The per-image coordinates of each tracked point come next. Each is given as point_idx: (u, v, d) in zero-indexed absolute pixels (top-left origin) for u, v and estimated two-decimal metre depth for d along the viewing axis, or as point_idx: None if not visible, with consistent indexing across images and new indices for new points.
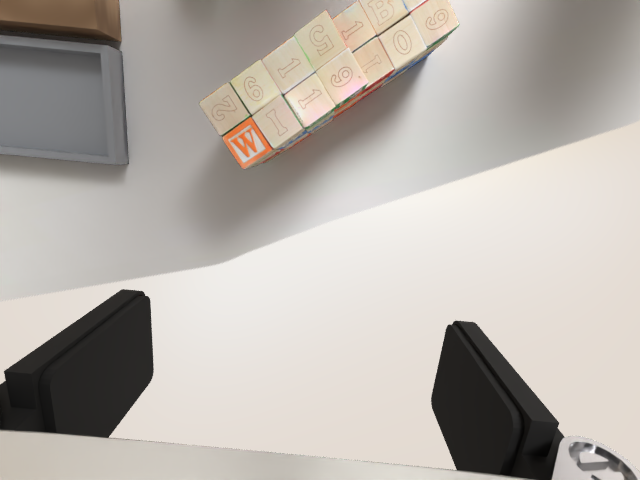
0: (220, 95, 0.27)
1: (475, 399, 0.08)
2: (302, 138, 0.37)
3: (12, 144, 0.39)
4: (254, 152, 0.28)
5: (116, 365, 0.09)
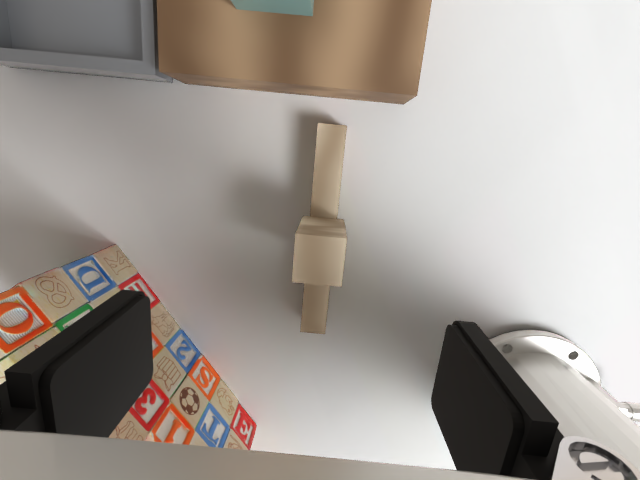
0: None
1: (475, 399, 0.08)
2: None
3: None
4: None
5: (116, 365, 0.09)
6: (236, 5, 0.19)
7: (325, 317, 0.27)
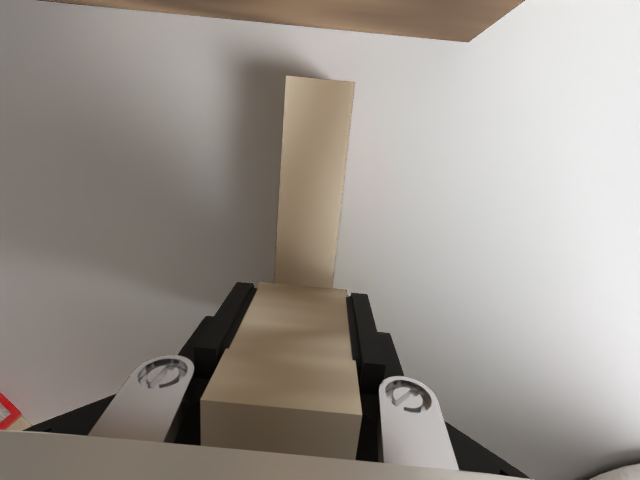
0: None
1: None
2: None
3: None
4: None
5: None
6: None
7: None
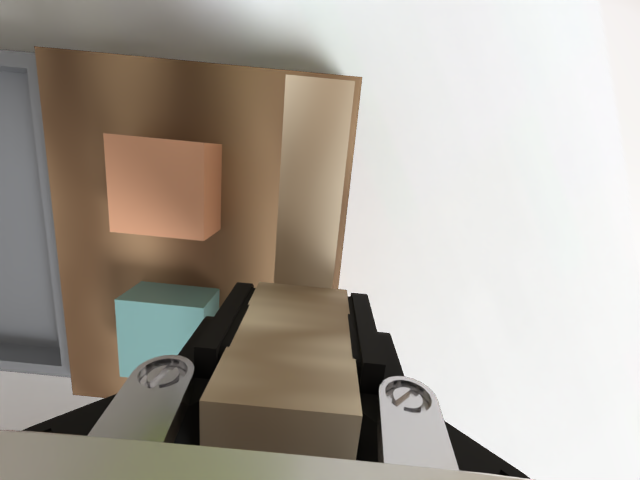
0: None
1: None
2: None
3: None
4: None
5: None
6: None
7: None
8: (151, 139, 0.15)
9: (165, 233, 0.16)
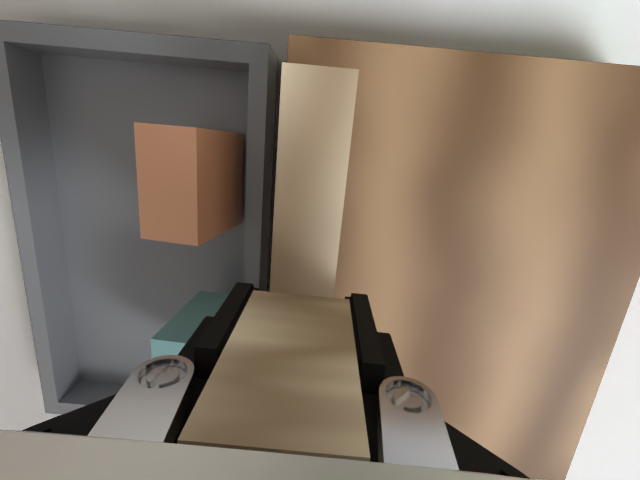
0: None
1: None
2: None
3: (60, 181, 0.18)
4: None
5: None
6: None
7: None
8: None
9: None
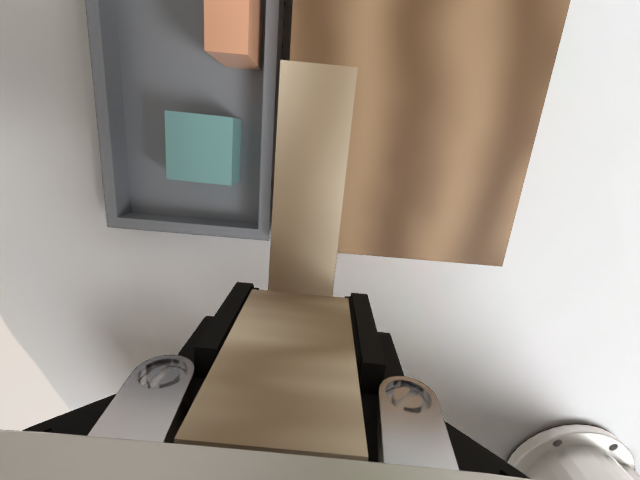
0: None
1: None
2: None
3: (120, 36, 0.23)
4: None
5: None
6: None
7: None
8: None
9: None
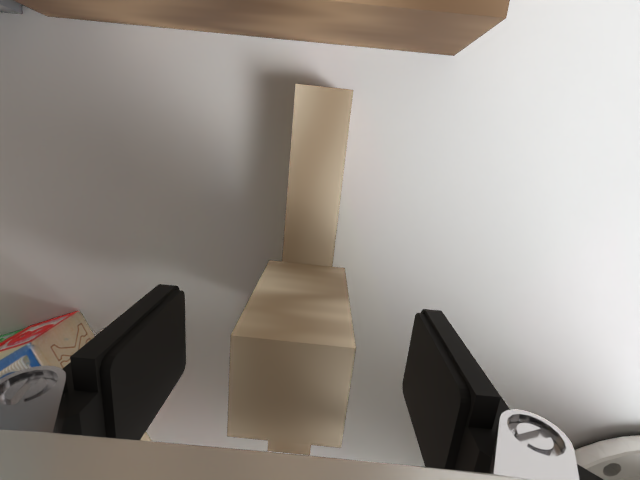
0: None
1: (434, 380, 0.08)
2: None
3: None
4: None
5: (158, 355, 0.09)
6: None
7: None
8: None
9: None
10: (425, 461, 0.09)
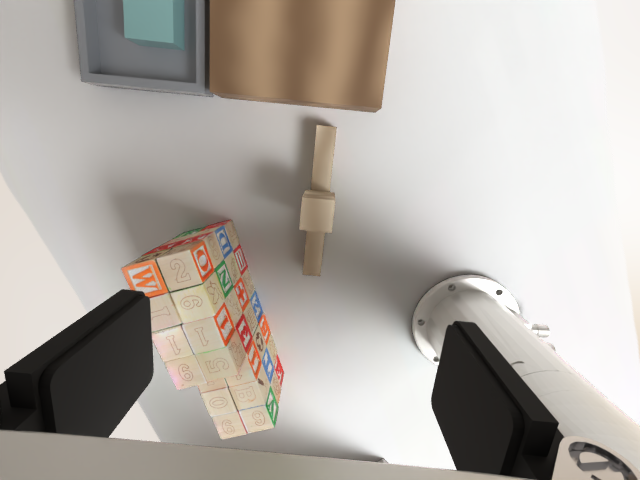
0: (192, 272, 0.27)
1: (475, 399, 0.08)
2: None
3: None
4: (136, 283, 0.28)
5: (116, 365, 0.09)
6: (174, 44, 0.32)
7: (320, 263, 0.37)
8: None
9: None
10: None
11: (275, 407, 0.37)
